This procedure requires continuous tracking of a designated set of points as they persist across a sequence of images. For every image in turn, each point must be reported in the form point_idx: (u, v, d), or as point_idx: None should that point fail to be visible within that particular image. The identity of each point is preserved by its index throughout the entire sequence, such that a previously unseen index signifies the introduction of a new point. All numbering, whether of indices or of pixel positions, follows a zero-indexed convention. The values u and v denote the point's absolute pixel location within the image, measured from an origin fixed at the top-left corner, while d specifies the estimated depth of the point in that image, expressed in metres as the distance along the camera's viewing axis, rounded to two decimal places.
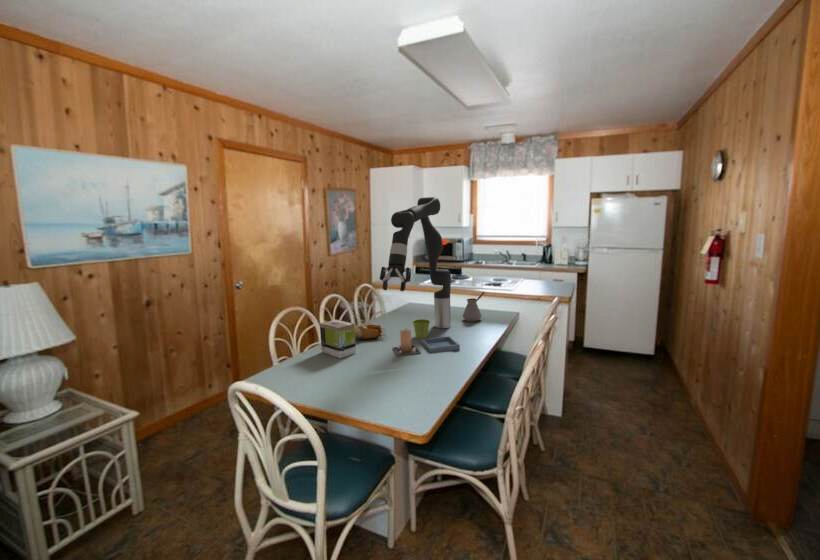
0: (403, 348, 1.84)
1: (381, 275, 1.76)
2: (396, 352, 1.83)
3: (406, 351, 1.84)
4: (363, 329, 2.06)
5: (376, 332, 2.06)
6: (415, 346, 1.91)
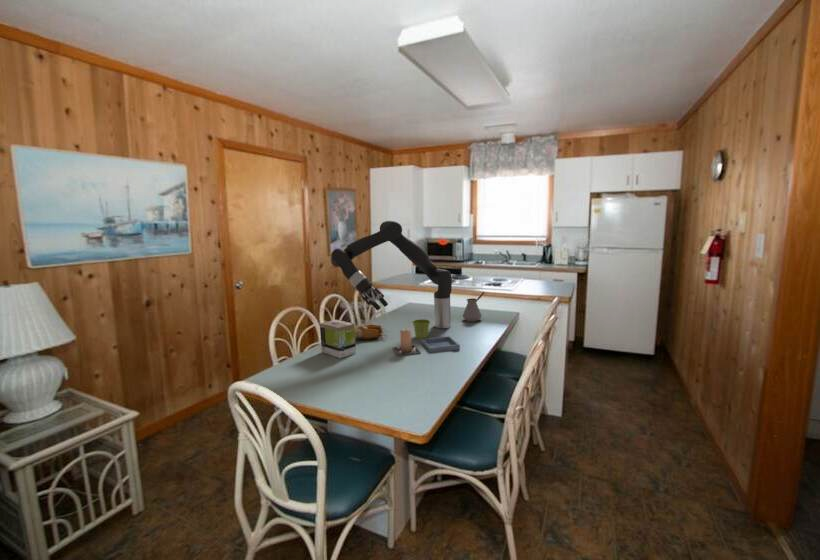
0: (403, 348, 1.84)
1: None
2: (396, 352, 1.83)
3: (406, 351, 1.84)
4: (363, 329, 2.06)
5: (376, 332, 2.06)
6: (415, 346, 1.91)
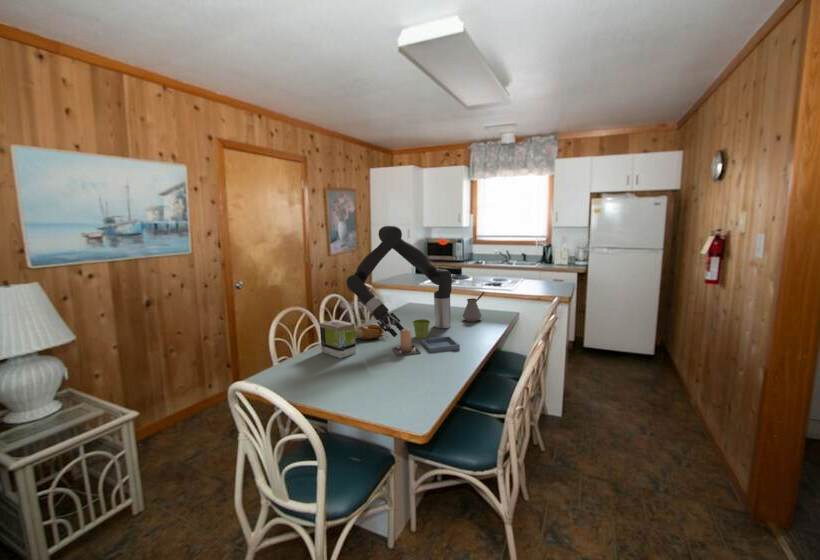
0: (403, 348, 1.84)
1: None
2: (396, 352, 1.83)
3: (406, 351, 1.84)
4: (364, 329, 2.06)
5: (377, 332, 2.06)
6: (415, 346, 1.91)
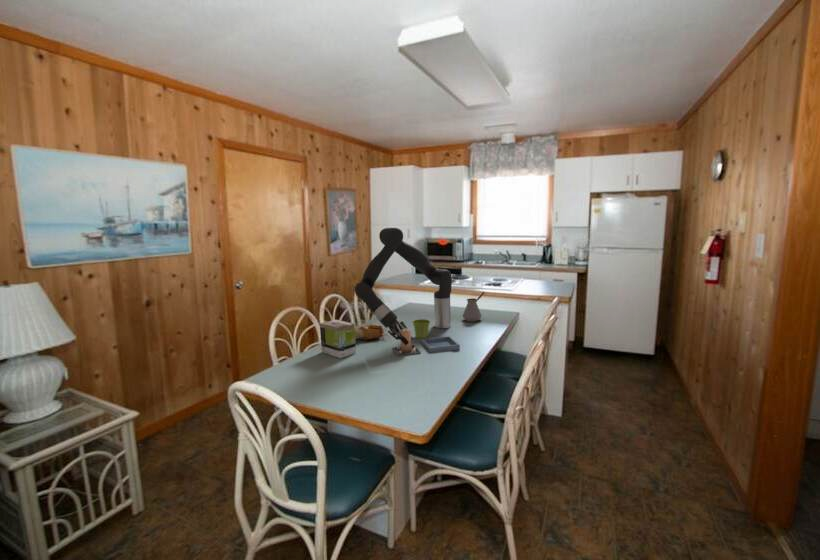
0: (403, 348, 1.84)
1: None
2: (396, 352, 1.83)
3: (406, 351, 1.84)
4: (365, 330, 2.05)
5: (378, 332, 2.06)
6: (415, 346, 1.91)
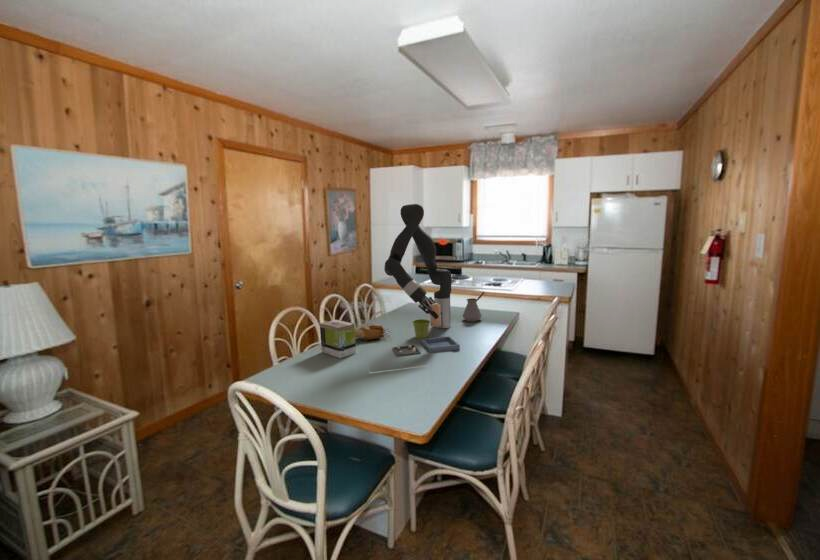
0: (433, 322, 1.88)
1: None
2: (396, 352, 1.83)
3: (436, 325, 1.88)
4: (366, 330, 2.05)
5: (379, 333, 2.05)
6: (415, 346, 1.91)
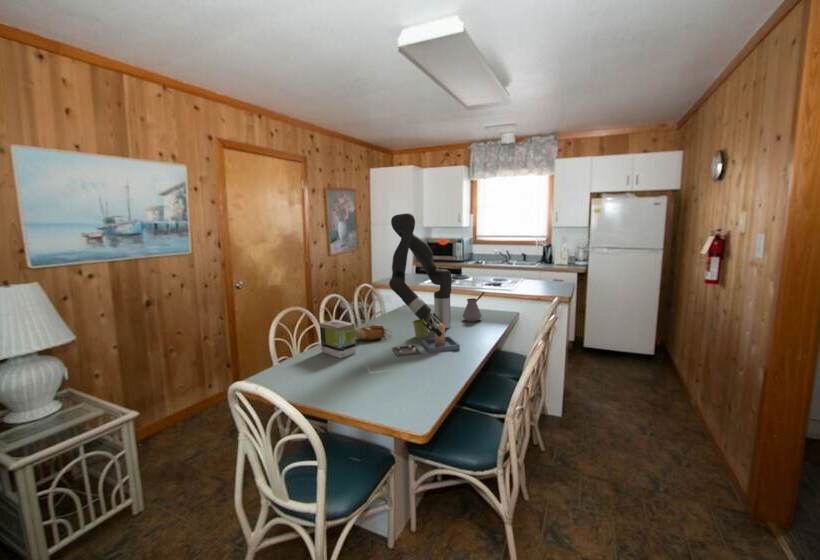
0: (437, 342, 1.90)
1: None
2: (396, 352, 1.83)
3: (440, 345, 1.90)
4: (367, 330, 2.04)
5: (380, 333, 2.05)
6: (415, 346, 1.91)
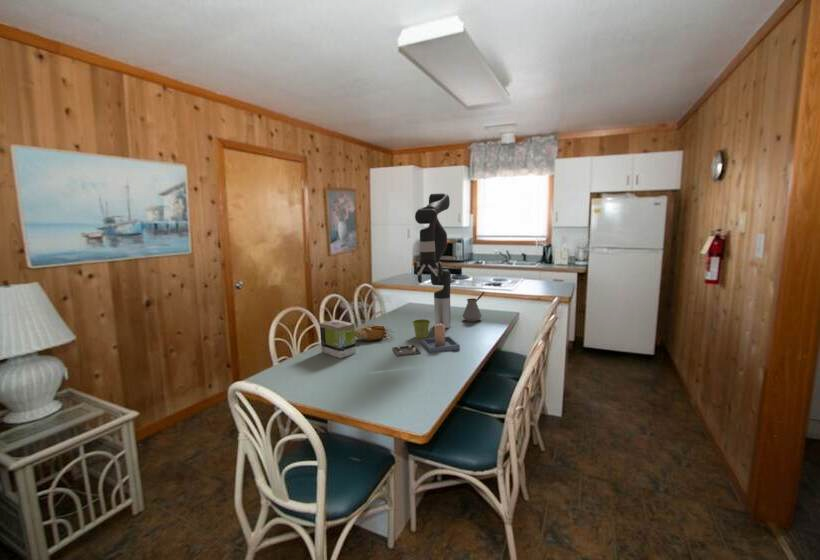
0: (437, 342, 1.90)
1: (415, 270, 1.96)
2: (396, 352, 1.83)
3: (440, 345, 1.90)
4: (368, 331, 2.03)
5: (381, 333, 2.04)
6: (415, 346, 1.91)
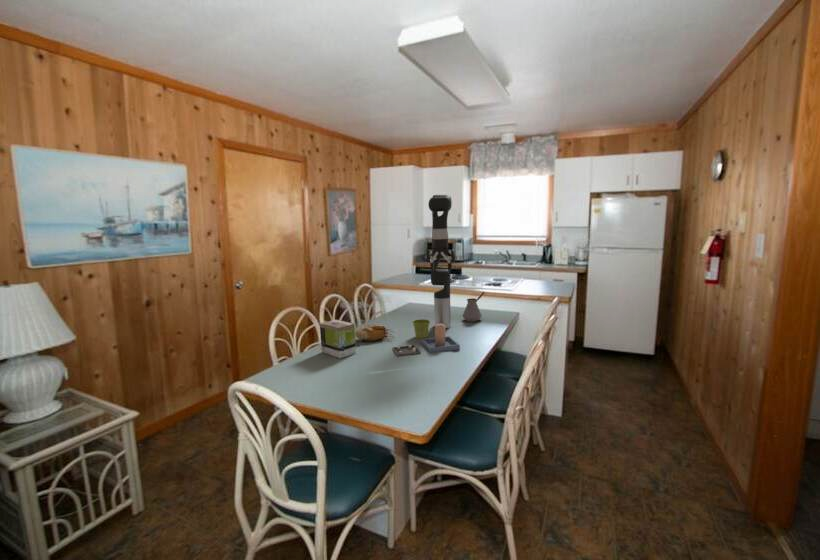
0: (437, 342, 1.90)
1: (427, 258, 1.98)
2: (396, 352, 1.83)
3: (440, 345, 1.90)
4: (369, 331, 2.03)
5: (382, 333, 2.04)
6: (415, 346, 1.91)
